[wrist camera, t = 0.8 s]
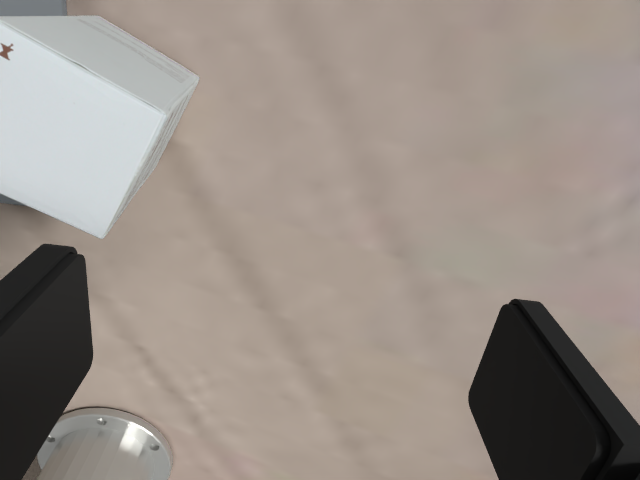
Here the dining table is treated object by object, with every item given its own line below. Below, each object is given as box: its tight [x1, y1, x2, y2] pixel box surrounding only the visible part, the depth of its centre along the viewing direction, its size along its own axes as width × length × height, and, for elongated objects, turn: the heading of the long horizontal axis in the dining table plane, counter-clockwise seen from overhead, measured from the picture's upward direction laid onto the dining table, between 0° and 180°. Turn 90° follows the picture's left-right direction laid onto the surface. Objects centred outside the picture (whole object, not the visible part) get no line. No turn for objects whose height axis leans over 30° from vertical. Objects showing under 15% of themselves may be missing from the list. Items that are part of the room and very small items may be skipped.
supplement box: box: [0, 15, 199, 239], centre depth 26 cm, size 7×7×13 cm
